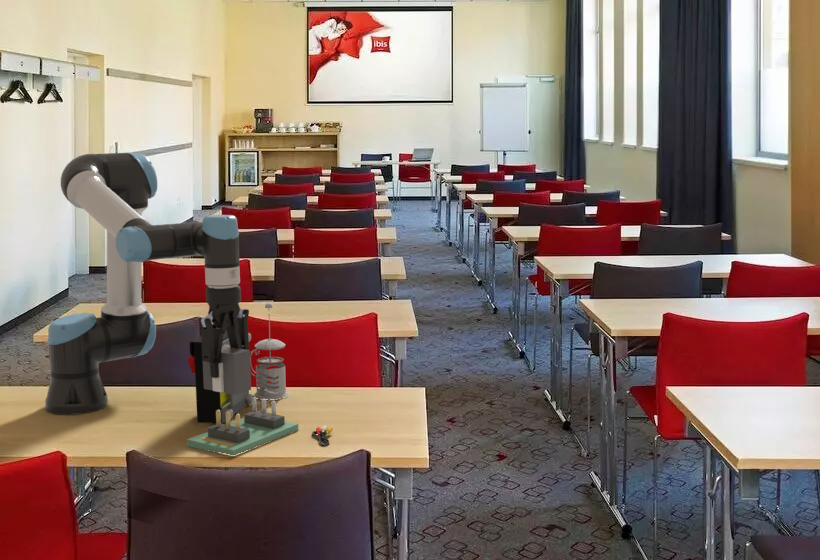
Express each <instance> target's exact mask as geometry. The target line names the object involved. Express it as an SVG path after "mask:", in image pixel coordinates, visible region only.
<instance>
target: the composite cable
mask: <svg viewBox="0 0 820 560" xmlns="http://www.w3.org/2000/svg"><path fill="white" fill-rule="evenodd" d="M332 432H333V426H330V427H328V424H324V425H322V427H320V426H319V425H318V426H317V427H316V429H315V430H314V431H312V433H311V437H314V438H315V439H317V440H318V439H319V440H318V443H319V446H321V447H328V446H330V440H329V439H327V436H326V435H330V434H331V433H332ZM316 434H318V435H316ZM322 442H323V443H322Z"/></svg>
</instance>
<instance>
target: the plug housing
mask: <svg viewBox="0 0 820 560" xmlns="http://www.w3.org/2000/svg"><path fill="white" fill-rule="evenodd" d="M250 352H251V351H250V349H249V350H245V349H239V348H232V347H226V346H222V350H221V357H220V363H223V378H224V393H229V394H234V395H236V394H239V393H242V392H245V391H248V390H249V391H251V390H252V378H251V377H252V376H251V375H252V374H251V373H252V371H251V365H250V356H251V353H250ZM214 358H215V356H214ZM203 381H204V389H207V390H213V384H212V377H211V375H210V363H209V362H205V361H203Z"/></svg>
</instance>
